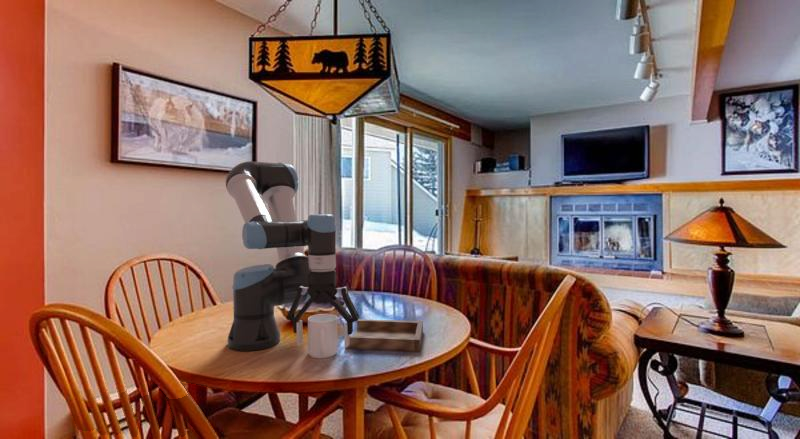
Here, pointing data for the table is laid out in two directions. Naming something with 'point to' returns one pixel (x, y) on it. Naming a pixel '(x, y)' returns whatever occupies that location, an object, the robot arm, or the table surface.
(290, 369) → the table surface
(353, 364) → the table surface
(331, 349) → the mug
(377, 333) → the tray
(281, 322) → the table surface
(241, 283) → the robot arm
